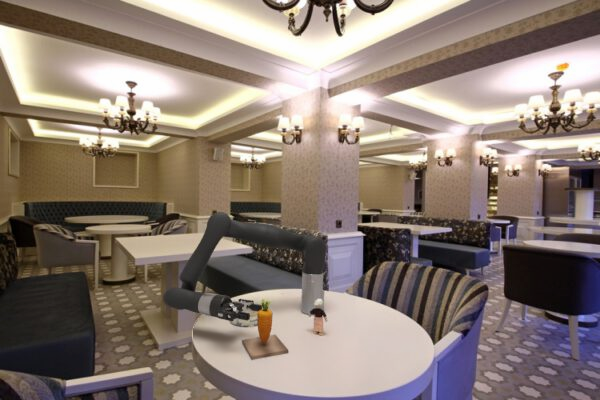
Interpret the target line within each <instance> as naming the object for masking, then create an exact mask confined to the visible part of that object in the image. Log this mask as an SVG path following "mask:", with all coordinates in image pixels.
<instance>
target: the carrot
mask: <svg viewBox="0 0 600 400" xmlns="http://www.w3.org/2000/svg"><path fill="white" fill-rule="evenodd" d="M271 302H272V301H271V300H268V299H266V301H265V299H264V298H262V299H261V305H262V309H261V310H260V311H259V312H258V314H257V323H258V326H257V331H258V337H260V339H261V341H262V343H263V344H264V345H265V344H266V342H267V340H268V338H269V336H270V335H271V331H272V327H273V312H272V311H271V309H270V306H269V304H270V303H271Z"/></svg>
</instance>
